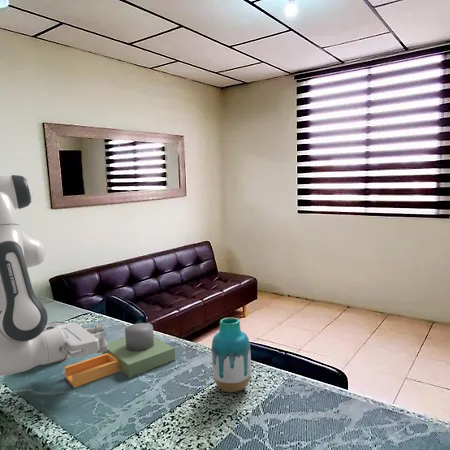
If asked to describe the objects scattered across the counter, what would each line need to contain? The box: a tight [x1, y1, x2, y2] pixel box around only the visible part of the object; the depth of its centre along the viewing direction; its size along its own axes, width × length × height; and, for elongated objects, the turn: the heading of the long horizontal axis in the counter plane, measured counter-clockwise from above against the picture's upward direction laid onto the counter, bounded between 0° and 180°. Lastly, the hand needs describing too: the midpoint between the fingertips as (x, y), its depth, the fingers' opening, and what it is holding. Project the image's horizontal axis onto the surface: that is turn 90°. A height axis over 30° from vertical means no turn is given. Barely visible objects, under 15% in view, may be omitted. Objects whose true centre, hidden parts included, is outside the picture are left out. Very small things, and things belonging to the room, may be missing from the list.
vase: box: [211, 316, 252, 393], centre depth 101 cm, size 11×11×19 cm
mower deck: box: [64, 322, 176, 389], centre depth 118 cm, size 30×20×10 cm, turn 130°
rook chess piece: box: [93, 323, 109, 354], centre depth 114 cm, size 4×4×8 cm
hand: (102, 331), depth 114 cm, fingers closed on rook chess piece, 3 cm apart
